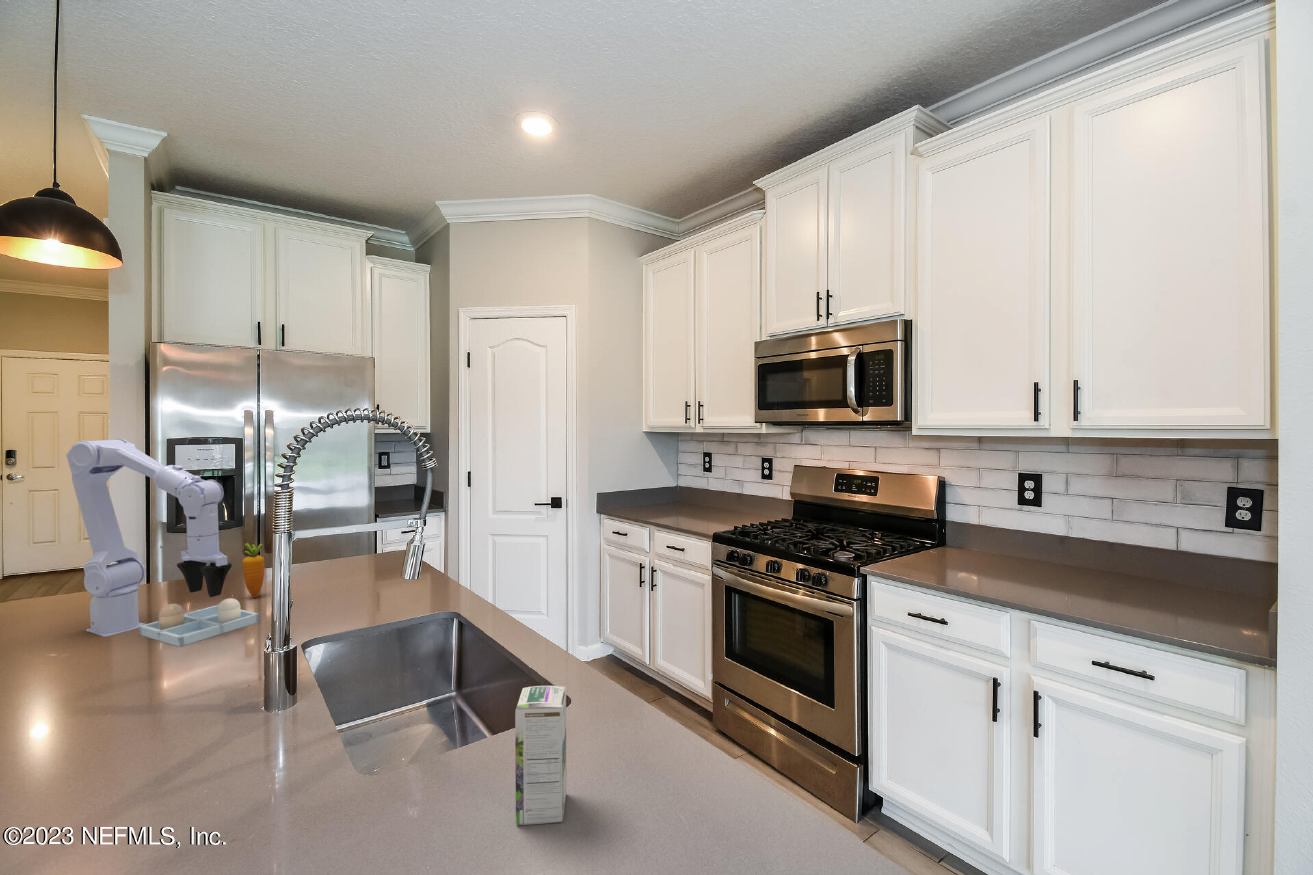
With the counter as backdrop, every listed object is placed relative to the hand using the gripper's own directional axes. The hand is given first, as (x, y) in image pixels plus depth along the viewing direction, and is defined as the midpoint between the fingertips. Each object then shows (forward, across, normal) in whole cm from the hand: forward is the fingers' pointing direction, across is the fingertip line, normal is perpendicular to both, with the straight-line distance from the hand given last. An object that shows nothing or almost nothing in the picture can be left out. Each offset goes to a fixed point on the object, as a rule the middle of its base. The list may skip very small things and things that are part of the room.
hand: (205, 593), depth 137 cm
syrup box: (+8, +107, -18) cm, 109 cm away
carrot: (+9, -16, +20) cm, 27 cm away
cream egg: (+8, +2, +4) cm, 9 cm away
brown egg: (+8, -6, -4) cm, 11 cm away
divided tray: (+9, -2, 0) cm, 9 cm away
